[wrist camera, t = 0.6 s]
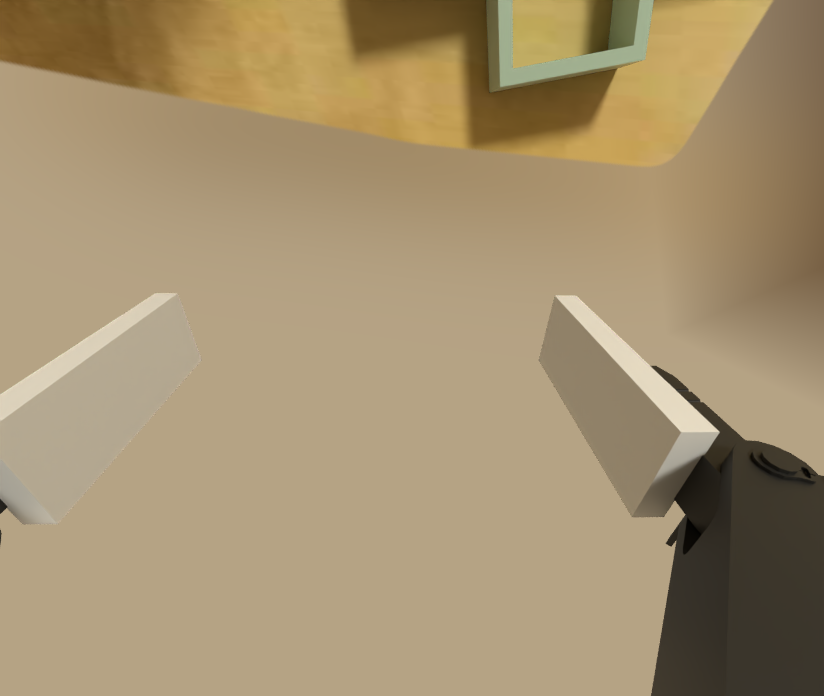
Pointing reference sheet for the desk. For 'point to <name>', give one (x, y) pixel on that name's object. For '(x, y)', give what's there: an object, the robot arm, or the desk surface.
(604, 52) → the box
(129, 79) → the desk surface
